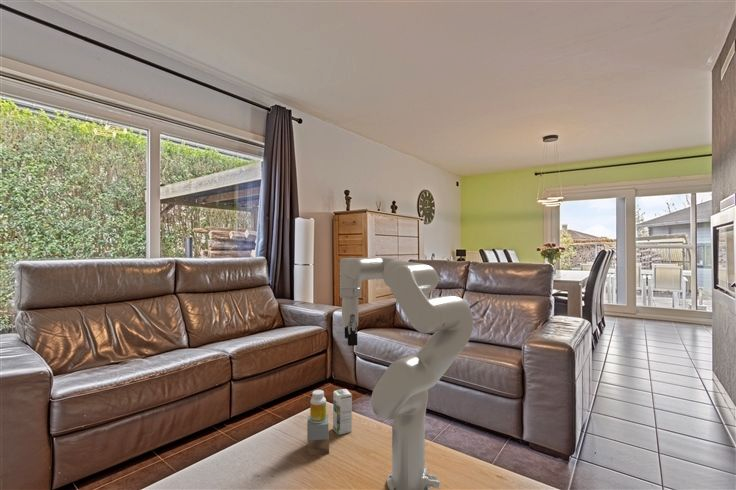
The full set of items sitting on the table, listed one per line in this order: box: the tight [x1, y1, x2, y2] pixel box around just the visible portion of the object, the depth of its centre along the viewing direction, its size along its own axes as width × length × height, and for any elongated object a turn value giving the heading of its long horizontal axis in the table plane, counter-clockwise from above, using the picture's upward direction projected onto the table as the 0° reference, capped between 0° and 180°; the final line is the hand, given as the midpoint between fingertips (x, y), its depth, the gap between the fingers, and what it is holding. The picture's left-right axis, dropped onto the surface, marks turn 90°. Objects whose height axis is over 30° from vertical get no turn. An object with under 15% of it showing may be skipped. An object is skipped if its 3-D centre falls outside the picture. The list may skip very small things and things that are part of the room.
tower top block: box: [306, 414, 329, 442], centre depth 126 cm, size 7×7×5 cm
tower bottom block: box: [307, 433, 330, 456], centre depth 126 cm, size 7×7×5 cm
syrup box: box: [332, 388, 353, 436], centre depth 138 cm, size 6×6×14 cm
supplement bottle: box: [309, 389, 327, 423], centre depth 126 cm, size 5×5×10 cm
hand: (350, 341), depth 128 cm, fingers open, 9 cm apart
